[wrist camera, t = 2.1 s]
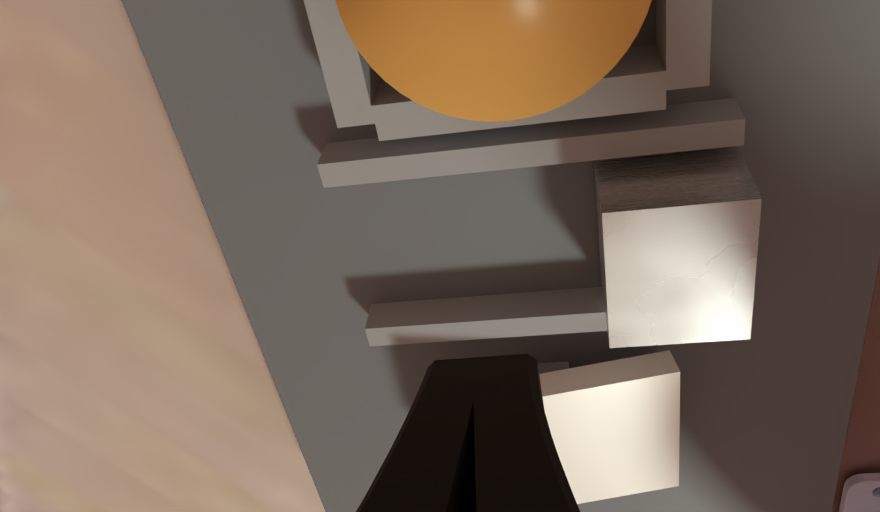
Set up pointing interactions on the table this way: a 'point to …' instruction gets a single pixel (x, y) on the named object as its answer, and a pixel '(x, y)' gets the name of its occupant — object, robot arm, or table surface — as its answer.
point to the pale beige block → (677, 246)
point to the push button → (492, 50)
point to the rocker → (616, 425)
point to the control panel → (534, 226)
